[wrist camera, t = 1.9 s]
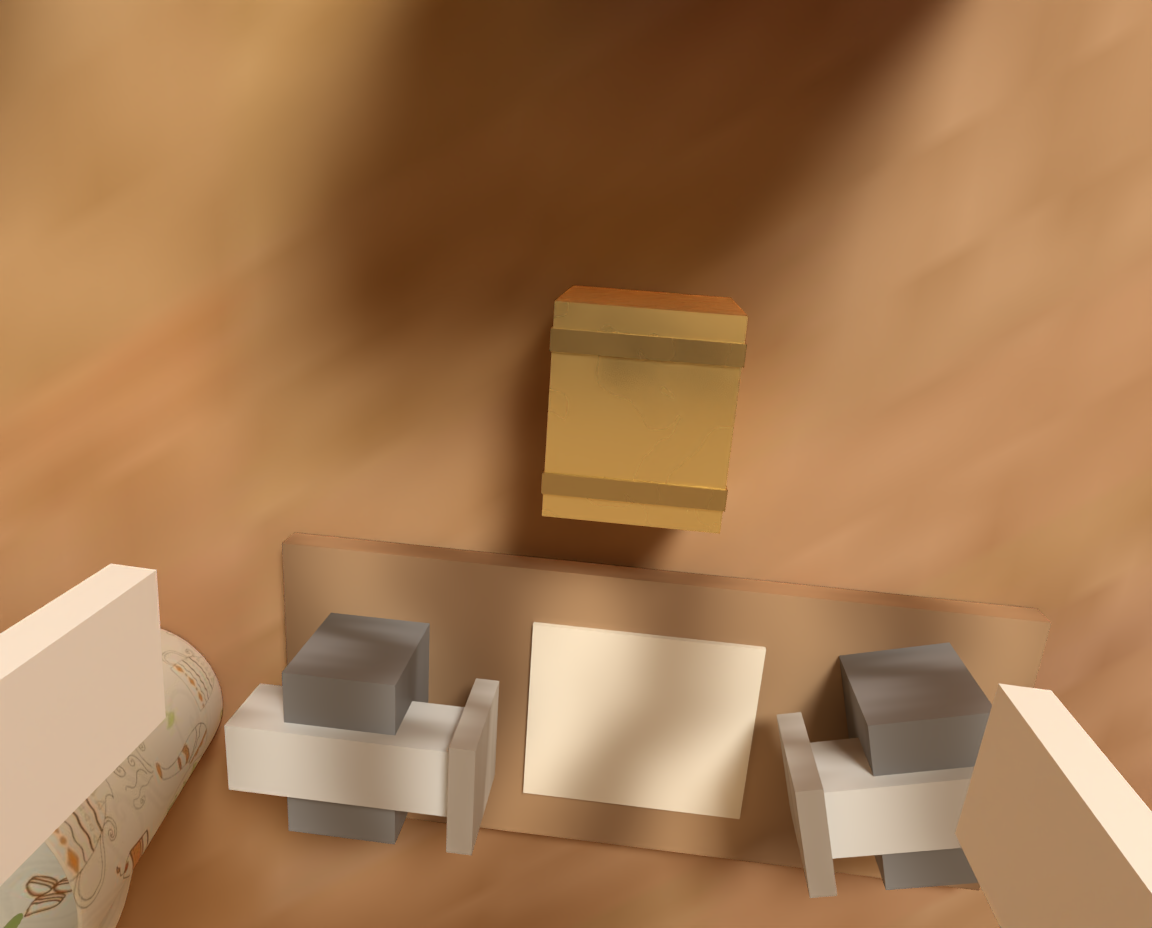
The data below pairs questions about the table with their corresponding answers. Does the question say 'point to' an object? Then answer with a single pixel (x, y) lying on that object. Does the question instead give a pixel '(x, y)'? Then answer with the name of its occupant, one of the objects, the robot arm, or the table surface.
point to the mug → (119, 810)
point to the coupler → (642, 407)
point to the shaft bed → (628, 709)
